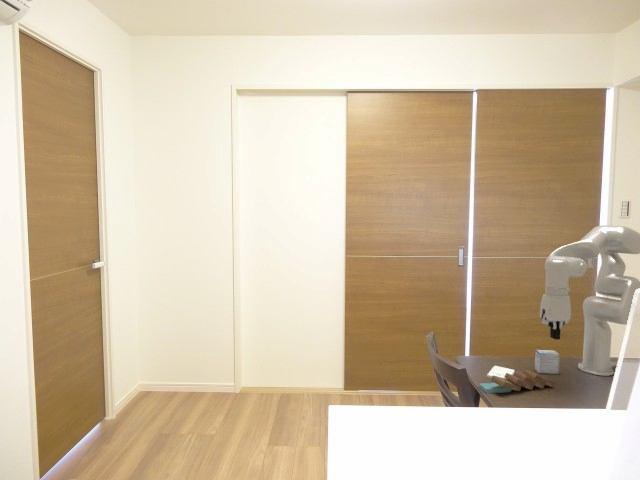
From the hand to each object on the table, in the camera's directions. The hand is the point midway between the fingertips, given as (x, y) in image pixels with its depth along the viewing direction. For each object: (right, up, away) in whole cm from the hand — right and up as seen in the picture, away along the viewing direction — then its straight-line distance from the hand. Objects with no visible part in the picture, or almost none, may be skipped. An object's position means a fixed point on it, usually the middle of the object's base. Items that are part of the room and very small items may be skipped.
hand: (555, 338), depth 155 cm
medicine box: (+5, -18, +15) cm, 24 cm away
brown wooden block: (-11, -17, -1) cm, 21 cm away
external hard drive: (-16, -18, +11) cm, 27 cm away
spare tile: (-20, -18, -3) cm, 27 cm away
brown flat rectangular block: (-6, -18, 0) cm, 19 cm away
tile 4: (-17, -17, -3) cm, 24 cm away
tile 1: (-2, -18, +1) cm, 18 cm away
